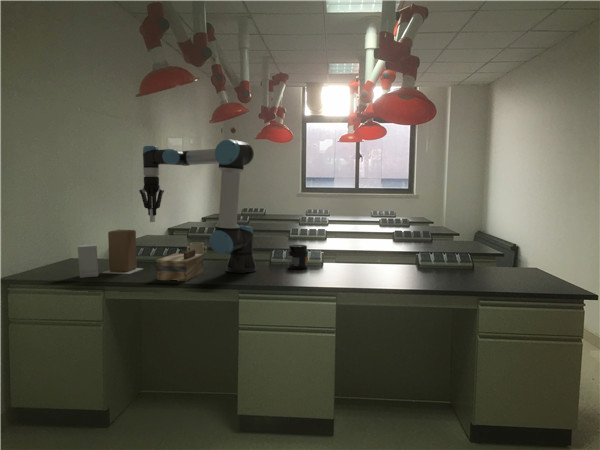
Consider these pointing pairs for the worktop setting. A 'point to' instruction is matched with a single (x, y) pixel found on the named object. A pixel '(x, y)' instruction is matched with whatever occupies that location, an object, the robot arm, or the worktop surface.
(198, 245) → the character mug
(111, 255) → the wooden block
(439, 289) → the worktop surface
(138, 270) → the mat
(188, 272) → the toolbox
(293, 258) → the supplement container
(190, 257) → the lid
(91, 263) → the skincare box
